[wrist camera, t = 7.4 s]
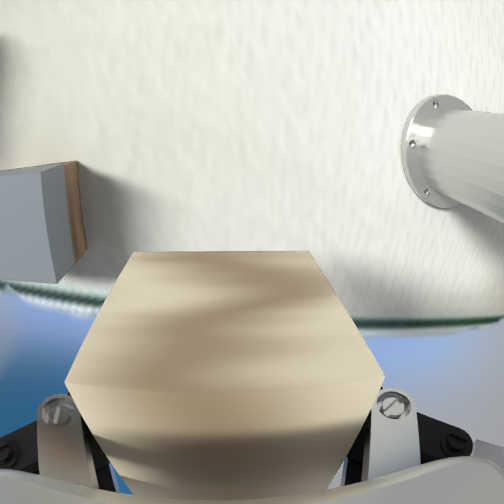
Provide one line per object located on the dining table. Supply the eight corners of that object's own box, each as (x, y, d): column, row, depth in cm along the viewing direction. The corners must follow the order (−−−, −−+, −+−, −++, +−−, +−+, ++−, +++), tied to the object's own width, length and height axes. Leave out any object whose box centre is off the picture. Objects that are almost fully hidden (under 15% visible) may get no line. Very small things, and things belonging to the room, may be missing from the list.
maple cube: (309, 251, 11) (385, 376, 5) (291, 375, 13) (323, 493, 8) (133, 252, 10) (64, 382, 5) (155, 377, 12) (137, 499, 7)
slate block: (64, 163, 21) (40, 171, 18) (74, 262, 25) (57, 283, 21) (-9, 172, 20) (-35, 181, 17) (4, 259, 24) (-16, 277, 20)
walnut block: (78, 160, 25) (59, 166, 21) (88, 247, 29) (73, 264, 25) (10, 170, 24) (-12, 178, 20) (22, 249, 28) (4, 264, 24)
